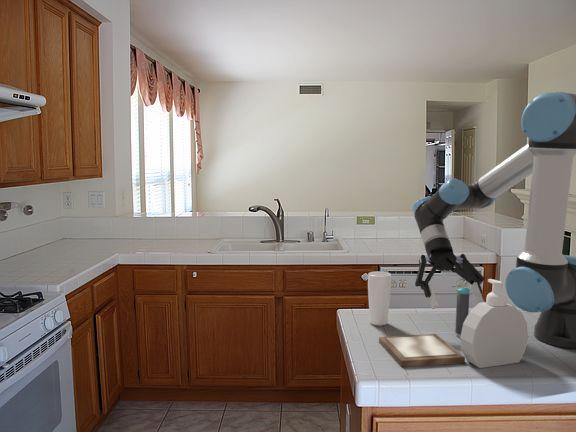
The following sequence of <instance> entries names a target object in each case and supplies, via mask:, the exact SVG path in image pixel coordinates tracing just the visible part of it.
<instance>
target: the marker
mask: <svg viewBox="0 0 576 432" xmlns="http://www.w3.org/2000/svg"><path fill="white" fill-rule="evenodd" d="M470 290H471V288H470V289H469V288H468V287H458V288H457V289H456V310H455V311H456V312H455V328H454V330H455V334H456V335H455V337H457V338H459V339H460V337H461V332H462V327H463V323H464V321H465V319H466V317H467V316H468V314H469V312H470V295H471V294H470V293H471V292H470Z"/></svg>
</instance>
